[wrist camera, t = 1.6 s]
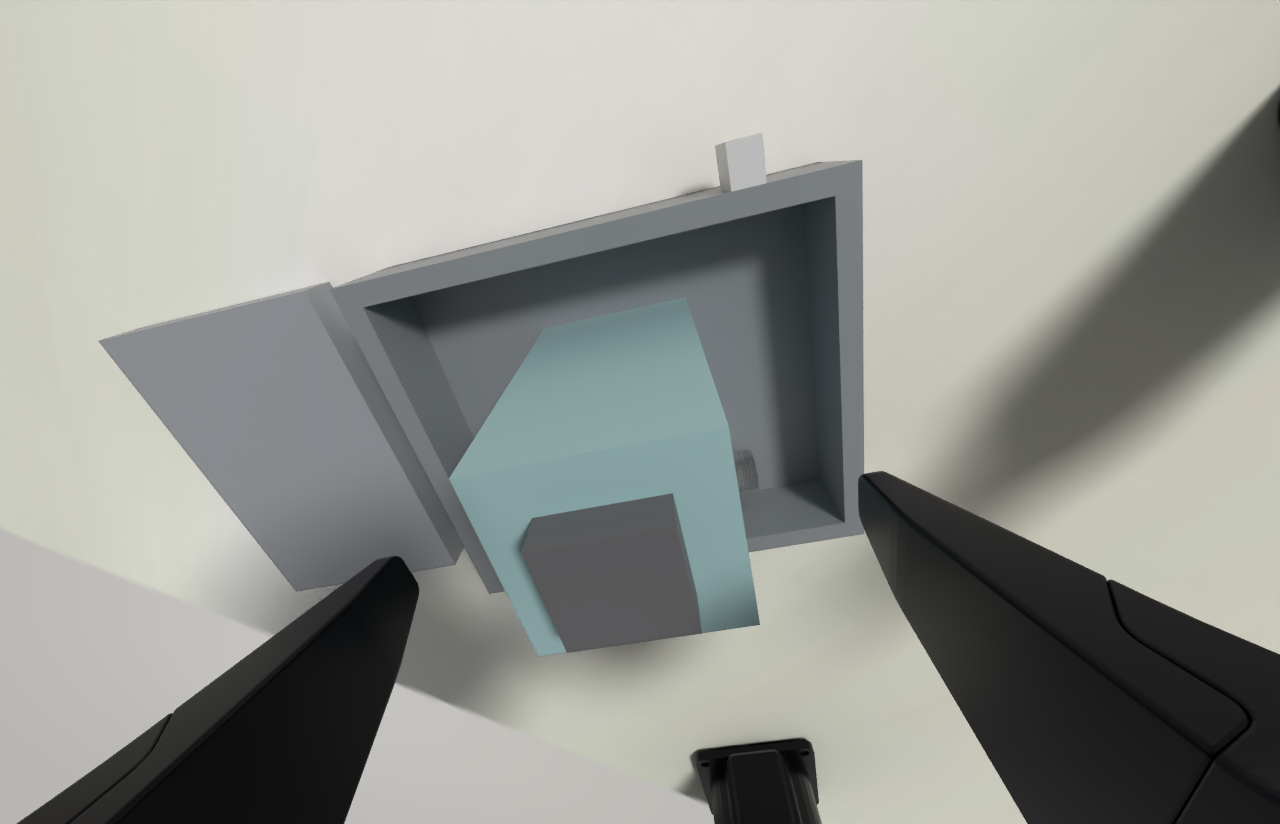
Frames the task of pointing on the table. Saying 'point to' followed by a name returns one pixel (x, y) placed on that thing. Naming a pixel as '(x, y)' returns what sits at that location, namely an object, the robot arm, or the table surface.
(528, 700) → the table surface
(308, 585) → the lid panel
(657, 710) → the table surface
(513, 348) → the case
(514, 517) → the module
